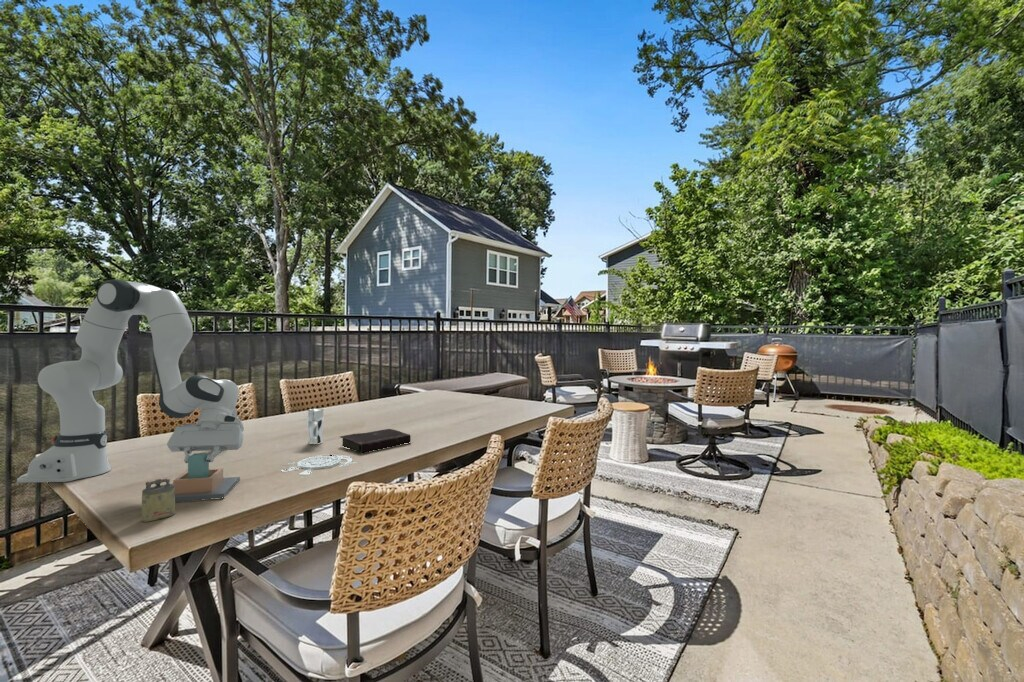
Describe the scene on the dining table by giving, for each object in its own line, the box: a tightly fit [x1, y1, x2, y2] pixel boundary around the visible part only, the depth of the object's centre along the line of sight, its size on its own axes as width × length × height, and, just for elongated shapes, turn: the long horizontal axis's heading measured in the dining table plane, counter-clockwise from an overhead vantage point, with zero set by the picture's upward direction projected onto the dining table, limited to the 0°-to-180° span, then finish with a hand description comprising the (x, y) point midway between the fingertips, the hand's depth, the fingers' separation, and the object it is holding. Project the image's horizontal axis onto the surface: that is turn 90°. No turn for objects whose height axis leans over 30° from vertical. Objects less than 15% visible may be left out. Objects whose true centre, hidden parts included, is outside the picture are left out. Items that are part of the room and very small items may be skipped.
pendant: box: [280, 453, 358, 476], centre depth 169 cm, size 21×28×1 cm
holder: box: [172, 467, 241, 503], centre depth 137 cm, size 18×16×6 cm
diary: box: [339, 428, 412, 454], centre depth 198 cm, size 19×25×5 cm
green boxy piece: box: [140, 478, 176, 523], centre depth 118 cm, size 7×4×10 cm, turn 140°
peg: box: [187, 452, 210, 479], centre depth 137 cm, size 4×4×10 cm
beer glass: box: [306, 408, 325, 445], centre depth 199 cm, size 7×7×15 cm
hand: (198, 461), depth 136 cm, fingers open, 5 cm apart
